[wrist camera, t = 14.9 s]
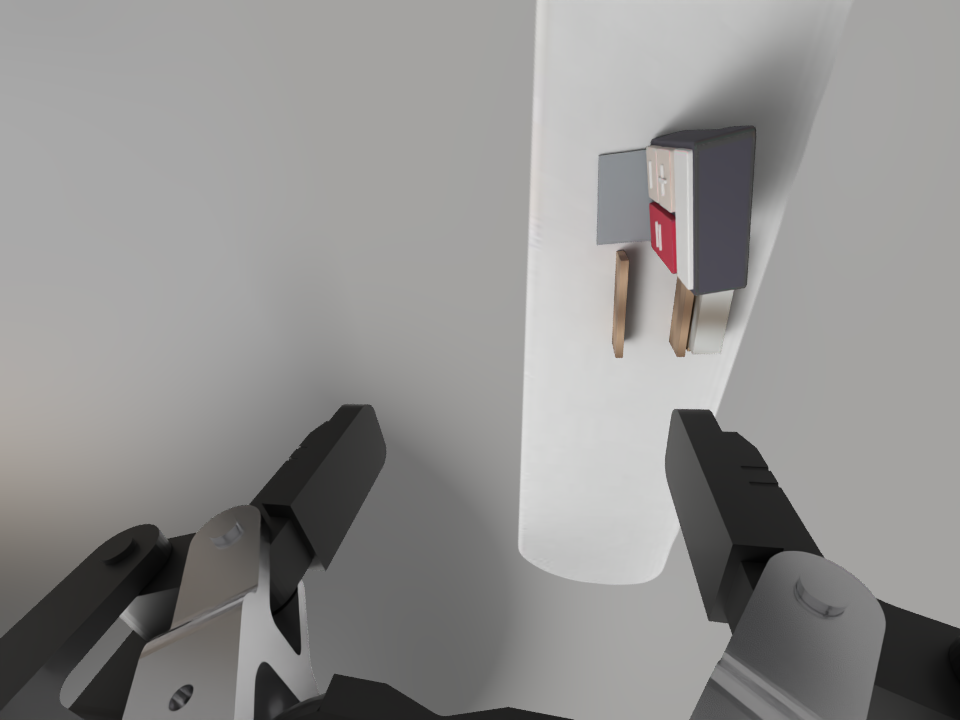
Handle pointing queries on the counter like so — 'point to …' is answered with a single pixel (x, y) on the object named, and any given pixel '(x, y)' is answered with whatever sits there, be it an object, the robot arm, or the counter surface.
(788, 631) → the robot arm
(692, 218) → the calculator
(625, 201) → the slate mat
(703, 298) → the offcut stack
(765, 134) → the counter surface
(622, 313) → the rack
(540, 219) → the counter surface
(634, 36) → the counter surface
